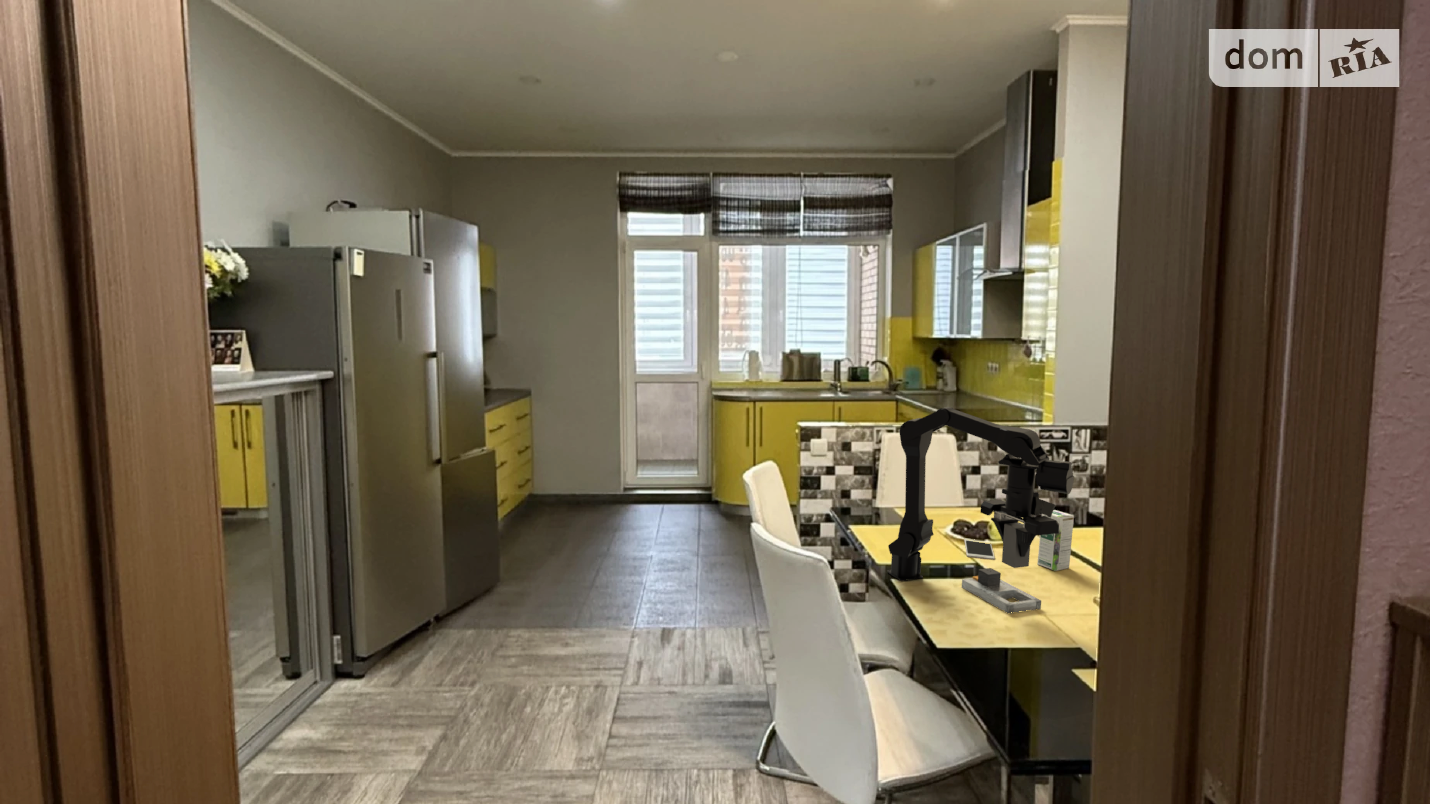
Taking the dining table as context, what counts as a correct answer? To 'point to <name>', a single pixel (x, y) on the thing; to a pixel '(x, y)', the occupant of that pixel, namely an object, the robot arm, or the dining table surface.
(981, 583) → the grey board with hole
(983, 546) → the smartphone
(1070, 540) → the syrup box
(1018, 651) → the dining table surface
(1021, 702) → the dining table surface
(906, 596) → the dining table surface
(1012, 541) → the plug
